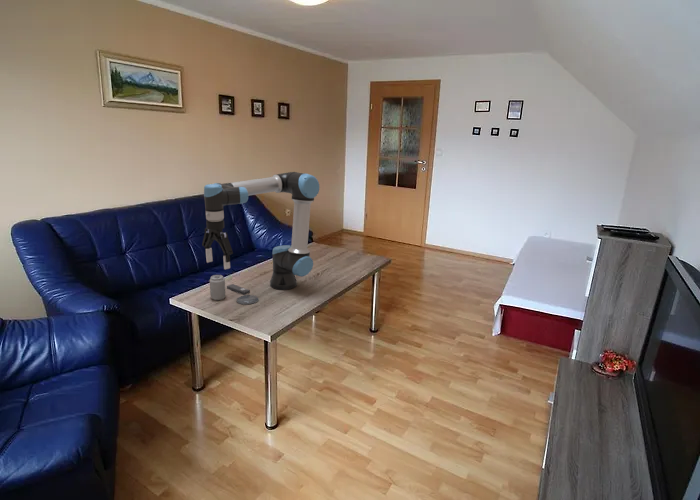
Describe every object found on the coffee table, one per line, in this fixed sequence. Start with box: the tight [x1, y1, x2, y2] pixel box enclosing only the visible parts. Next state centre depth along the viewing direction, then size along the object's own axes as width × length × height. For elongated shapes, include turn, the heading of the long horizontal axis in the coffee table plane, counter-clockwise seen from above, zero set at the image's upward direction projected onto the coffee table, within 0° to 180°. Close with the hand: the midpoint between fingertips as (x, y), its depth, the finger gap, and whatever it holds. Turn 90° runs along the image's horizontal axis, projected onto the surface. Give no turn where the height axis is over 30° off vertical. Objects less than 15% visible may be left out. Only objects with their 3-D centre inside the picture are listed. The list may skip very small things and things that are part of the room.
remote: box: [226, 283, 251, 296], centre depth 220 cm, size 14×4×2 cm, turn 55°
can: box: [209, 274, 227, 301], centre depth 208 cm, size 8×8×12 cm
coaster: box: [236, 294, 259, 306], centre depth 208 cm, size 11×11×1 cm
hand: (218, 265), depth 183 cm, fingers open, 13 cm apart
